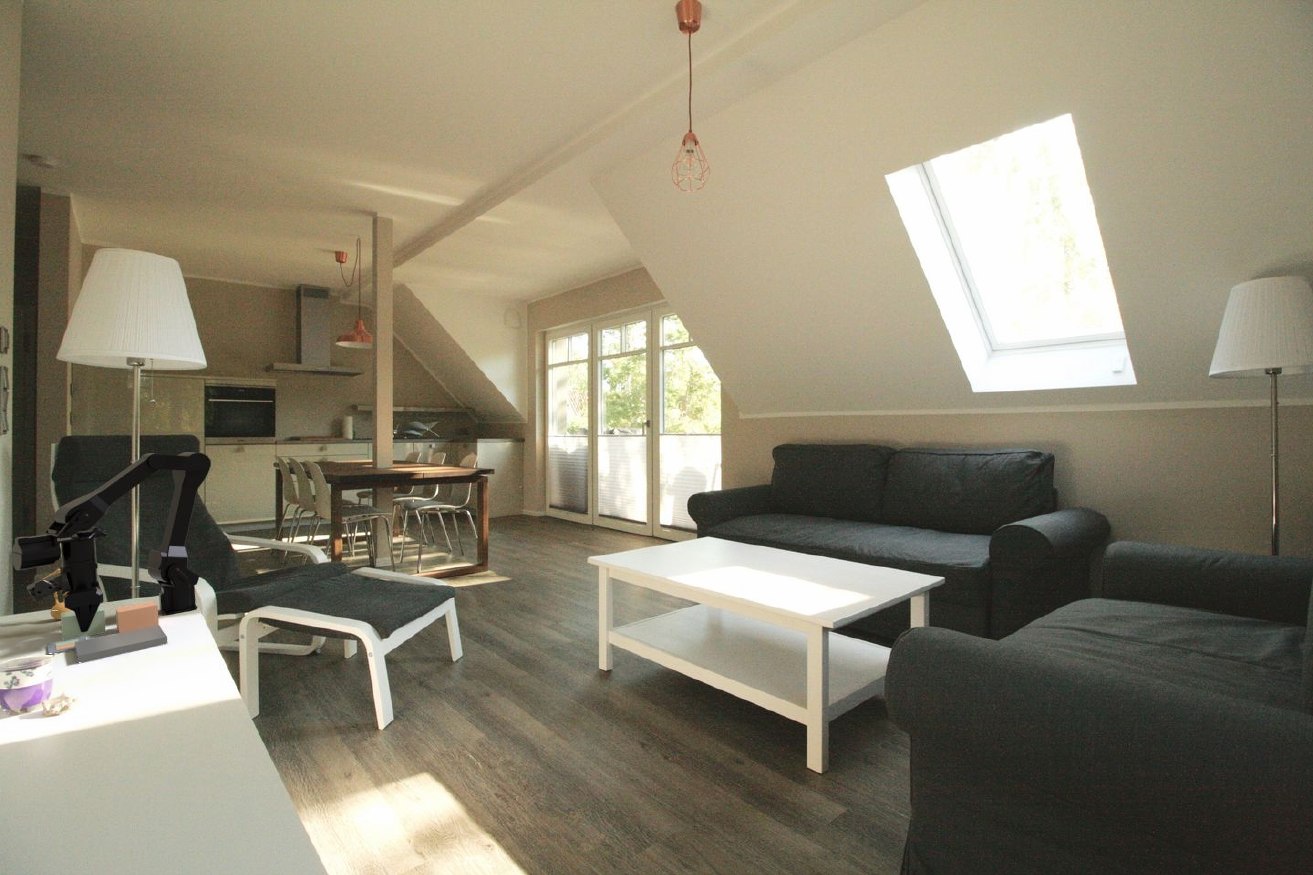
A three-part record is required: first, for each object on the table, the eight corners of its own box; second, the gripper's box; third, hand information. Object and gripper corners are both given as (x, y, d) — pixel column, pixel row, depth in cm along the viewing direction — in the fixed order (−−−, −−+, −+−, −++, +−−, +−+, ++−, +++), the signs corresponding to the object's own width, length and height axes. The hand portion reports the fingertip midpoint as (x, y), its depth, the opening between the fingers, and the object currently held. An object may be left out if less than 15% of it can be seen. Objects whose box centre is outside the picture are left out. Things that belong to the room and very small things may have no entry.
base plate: (159, 631, 143) (159, 624, 143) (167, 643, 135) (167, 636, 135) (75, 649, 133) (74, 641, 133) (78, 663, 125) (78, 655, 125)
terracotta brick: (155, 621, 150) (154, 600, 150) (158, 626, 147) (157, 605, 146) (116, 629, 145) (115, 607, 145) (119, 634, 142) (117, 612, 142)
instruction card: (85, 637, 140) (85, 635, 140) (88, 646, 134) (87, 645, 134) (47, 645, 135) (47, 643, 135) (48, 655, 130) (48, 653, 130)
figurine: (39, 625, 149) (35, 574, 148) (36, 620, 153) (33, 570, 152) (86, 616, 155) (83, 567, 154) (83, 611, 159) (79, 563, 158)
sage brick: (103, 626, 147) (102, 605, 147) (105, 632, 143) (104, 610, 143) (62, 635, 142) (60, 612, 142) (63, 640, 138) (61, 617, 138)
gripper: (28, 560, 143) (32, 628, 143) (29, 574, 129) (34, 649, 130) (94, 551, 150) (98, 616, 151) (101, 564, 137) (105, 635, 138)
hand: (83, 628), depth 142 cm, fingers closed on sage brick, 5 cm apart
